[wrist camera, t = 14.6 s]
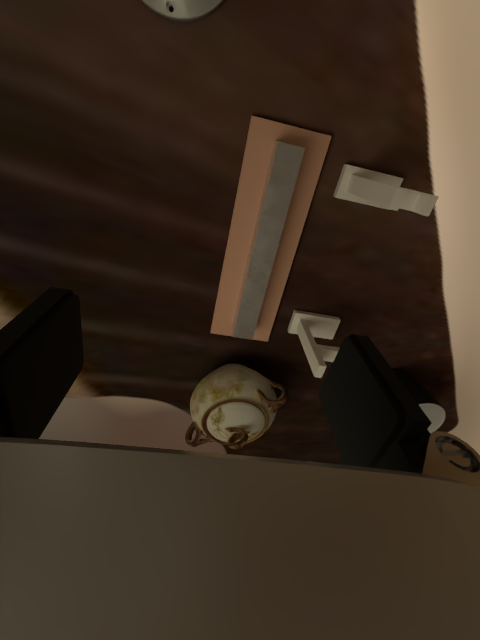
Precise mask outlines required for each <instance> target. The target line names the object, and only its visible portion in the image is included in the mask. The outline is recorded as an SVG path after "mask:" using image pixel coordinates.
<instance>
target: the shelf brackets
mask: <svg viewBox="0 0 480 640" xmlns="http://www.w3.org/2000/svg"><path fill="white" fill-rule="evenodd" d="M403 179H404V178H400V177H396V176H392V175H388V174H384V173H380V172H376V171H371V170H367V169H363V168H359V167H355V166H351V165H347V164H344V166H343V169H342V172H341V175H340V178H339V181H338V184H337V187H336V190H335V193H334V197H336V198H340V199H345V200H349V201H353V202H358V203H362V204H366V205H371V206H375V207H380V208H384V209H388V210H390V209H391V210H396V211H398V208H400V209H405V210H409V211H413V212H416V213H418V214H421V215H425V216H429V215H430V213H431V211H432V209H433V207H434V205H435V203H436V201H437V199H438V196H434V195H430V194H426V193H422V192H418V191H414V190H410V189H406V188H402V187H400V185H401V183H402V181H403ZM340 321H341V320H340V318H339V317H335V316H329V315H323V314H317V313H311V312H305V311H299V310H294V312H293V315H292V318H291V321H290V324H289V327H288V333H293V334H298V336H299V338H300V341H301V343H302V346H303V349H304V351H305V354H306V356H307V359H308V362H309V364H310V367H311V369H312V372H313V375H314V377H319V378H322V375H323V373H324V371H325V369H326V367H327V366H326V364H325V362H324V361H330V362H333V361H334V359H335V357H336V355H337V353H338V351H339V349H340V348H338V347H331V346H324V345H318V344H316V342H315V340H314V338H313V337H319V338H326V339H333V337H334V335H335V332H336V330H337V328H338V326H339V323H340Z"/></svg>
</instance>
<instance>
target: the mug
mask: <svg viewBox="0 0 480 640" xmlns="http://www.w3.org/2000/svg"><path fill="white" fill-rule="evenodd" d="M392 370H393V371H394V372H395V374H396V375H397V376H398V378H399V379H400V380H401V382H402V383H403V385H404V386H405V387H406V389H407V390H408V391H409V393H410V394H411V395H412V397H413V398H414V399H415V401H416V402H417V403H418V405H419V406H420V408H421V409H422V410H423V412H424V413H425V414H426V416H427V417H428V418H429V420H430V421H431V422H432V423H431V425H430V426H429V427H428V431H429V432H430V434H431V433H432V432H434V431H435V430H437V429H438V428H439V427H440V426H441V425H442V423H443V422H444V420H445V411H444V409H443V407H442V406H441V405H440V403H439V402H438V401H437V400H436V399H435V398H434V397H433V396H432V395H431V394H430V392H429V391H428V390H427V389H426V388H425V387H424V386H423V385H421V384H420V383H419V382H418V381H417V380H416V379H415V378H414V377H412V376H411V375H410V374H408V373H407V372H405V371H402V370H398V369H392Z"/></svg>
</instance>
